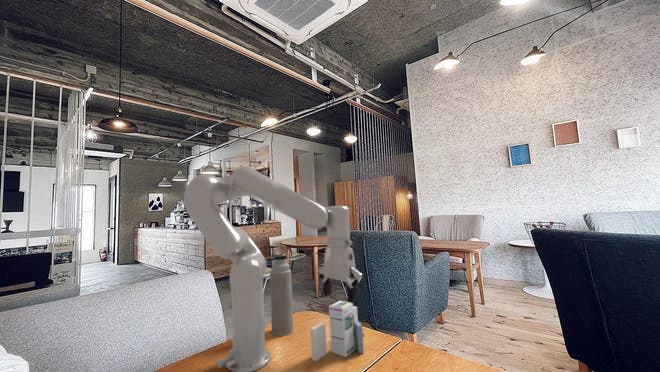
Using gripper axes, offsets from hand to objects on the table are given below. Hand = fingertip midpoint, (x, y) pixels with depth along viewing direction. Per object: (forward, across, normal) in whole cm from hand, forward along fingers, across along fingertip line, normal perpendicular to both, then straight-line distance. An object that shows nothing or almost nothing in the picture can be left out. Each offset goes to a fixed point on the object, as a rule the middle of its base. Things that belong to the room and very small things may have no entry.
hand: (339, 297), depth 88 cm
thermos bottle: (+17, +28, 0) cm, 33 cm away
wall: (+16, +4, -2) cm, 17 cm away
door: (+16, -2, -7) cm, 18 cm away
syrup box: (+17, -1, -1) cm, 17 cm away
